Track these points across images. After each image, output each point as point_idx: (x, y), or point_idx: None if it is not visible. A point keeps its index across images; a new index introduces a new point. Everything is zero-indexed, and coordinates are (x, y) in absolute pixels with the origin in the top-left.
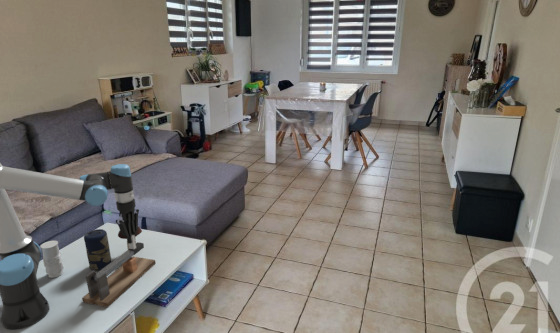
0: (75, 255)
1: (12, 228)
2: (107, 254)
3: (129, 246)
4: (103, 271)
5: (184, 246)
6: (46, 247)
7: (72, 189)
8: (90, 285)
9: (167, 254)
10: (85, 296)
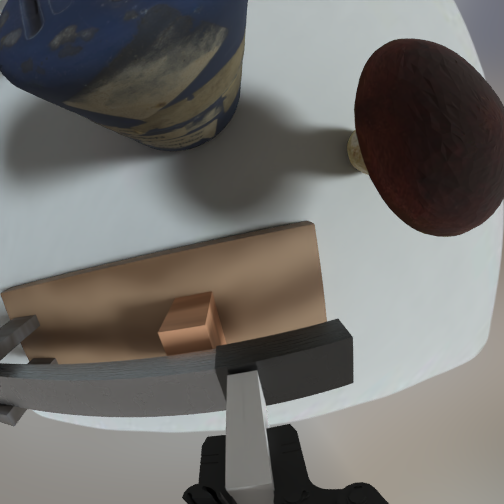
0: None
1: None
2: (176, 136)
3: (229, 396)
4: (12, 394)
5: (456, 333)
6: None
7: None
8: None
9: (401, 328)
10: (7, 297)
